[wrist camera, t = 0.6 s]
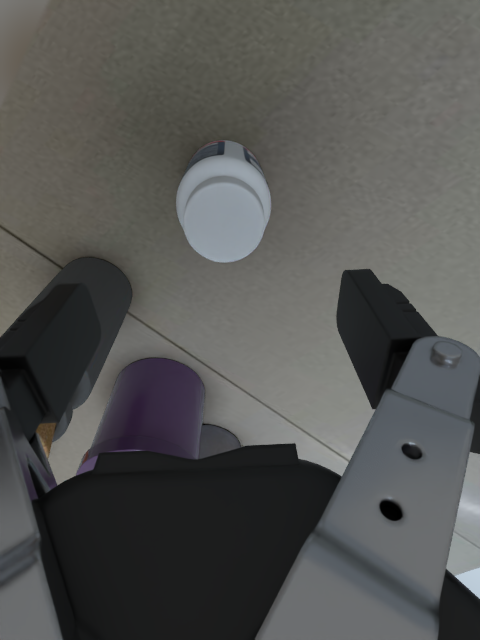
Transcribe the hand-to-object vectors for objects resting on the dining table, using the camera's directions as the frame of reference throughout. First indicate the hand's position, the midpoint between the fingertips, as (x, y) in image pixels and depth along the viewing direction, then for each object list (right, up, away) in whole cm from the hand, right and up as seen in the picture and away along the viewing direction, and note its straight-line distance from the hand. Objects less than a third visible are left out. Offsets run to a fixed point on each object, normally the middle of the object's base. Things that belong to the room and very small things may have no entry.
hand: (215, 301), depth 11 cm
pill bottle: (0, +9, +13) cm, 16 cm away
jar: (-7, -8, +24) cm, 27 cm away
